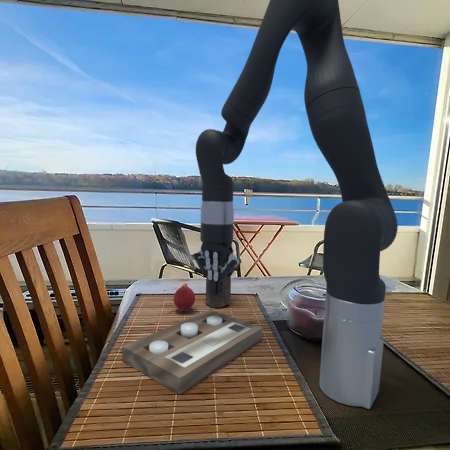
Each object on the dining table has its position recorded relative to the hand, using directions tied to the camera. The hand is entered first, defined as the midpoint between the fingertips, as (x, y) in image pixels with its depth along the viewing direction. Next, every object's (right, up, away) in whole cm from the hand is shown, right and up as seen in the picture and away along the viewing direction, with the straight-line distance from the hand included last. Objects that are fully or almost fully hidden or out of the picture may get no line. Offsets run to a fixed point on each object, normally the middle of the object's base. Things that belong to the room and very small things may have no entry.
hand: (215, 295), depth 76 cm
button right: (0, -8, +1) cm, 8 cm away
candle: (0, -7, +21) cm, 22 cm away
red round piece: (-9, -8, +14) cm, 18 cm away
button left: (-11, -10, -12) cm, 19 cm away
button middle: (-6, -8, -5) cm, 11 cm away
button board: (-4, -10, -7) cm, 13 cm away
